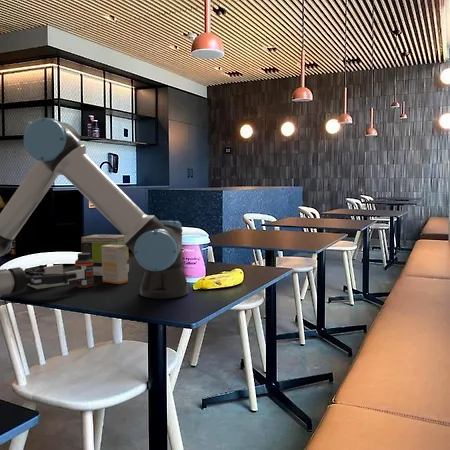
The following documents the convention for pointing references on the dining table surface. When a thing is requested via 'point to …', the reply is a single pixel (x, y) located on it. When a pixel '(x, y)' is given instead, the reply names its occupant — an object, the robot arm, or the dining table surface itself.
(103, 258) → the supplement box
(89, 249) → the tea box
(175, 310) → the dining table surface
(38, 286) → the shallow beige box
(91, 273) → the supplement bottle
